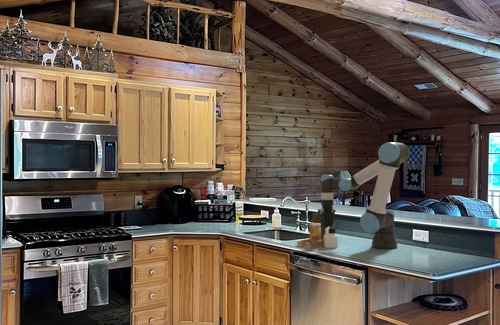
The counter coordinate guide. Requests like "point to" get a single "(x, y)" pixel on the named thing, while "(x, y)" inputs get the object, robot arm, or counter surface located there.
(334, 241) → the medicine bottle
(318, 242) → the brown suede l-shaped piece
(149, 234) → the counter surface
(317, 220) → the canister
